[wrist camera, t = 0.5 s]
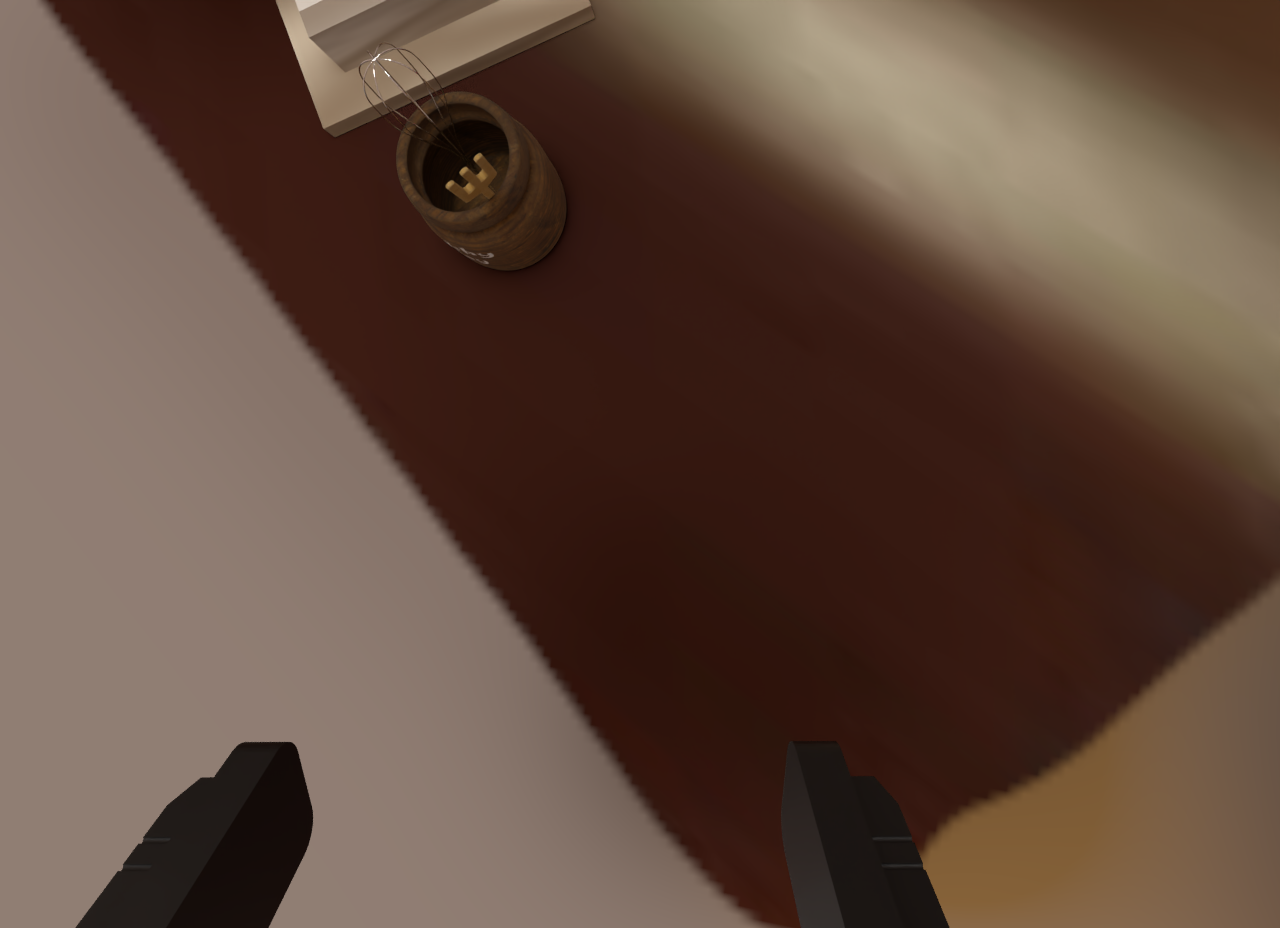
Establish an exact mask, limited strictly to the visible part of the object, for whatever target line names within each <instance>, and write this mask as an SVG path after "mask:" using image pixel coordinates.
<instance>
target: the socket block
mask: <svg viewBox="0 0 1280 928" xmlns="http://www.w3.org/2000/svg"><path fill="white" fill-rule="evenodd" d="M276 2H277V5H278V8H279V10H280V13H281V16H282V18H283V21H284V24H285V26H286V29H287V32H288V35H289V37H290V40H291V43H292V45H293V48H294V51H295V53H296V56H297V59H298V61H299V64H300V67H301V69H302V72H303V75H304V77H305V80H306V83H307V86H308V88H309V91H310V94H311V96H312V99H313V102H314V104H315V107H316V110H317V112H318V115H319V118H320V120H321V123H322V126H323V128H324V129H325V130H326V131H327V132H328V133H330V134H331V135H332V136H334V137H337V136H339V135H341V134H344V133H346V132H348V131H350V130H352V129H354V128H357V127H359V126H361V125H363V124H365V123H368V122H370V121H372V120H374V119H376V118H379V117H381V115H380V114H379V113H378V112H377V111H376V109H377V110H378V111H379V112H380V113H381V114H382V115H385V114H387V113H389V110H390V111H391V112H392V111H393V110H392V109H394V110H396V109H398V108H400V107H403V106H405V105H407V104H409V103H411V101H410V100H409V99H408V98H407V96H408V95H407V96H406V95H405V94H404V93H403V92H402V91H401V90H400V89H399V88H398V86H399V85H400V86H401V87H402V88H403V89H404V90H405V91H406V92H407V93H408V94H409V96H410V97H411V98H412V99H413V100H414V101H416V100H418V99H420V98H422V97H424V96H427V95H429V94H430V93H429V91H428V89H427V87H428V88H429V90H430V92H431V93H433V92H434V91H433V90H432V89H431V88H430V87H429V85H430V86H431V87H432V88H433V89H434V90H435V91H437V90H440V89H441V88H440V86H439V84H440V85H441V87H442V88H444V87H446V86H448V85H451V84H453V83H455V82H457V81H459V80H462V79H464V78H466V77H468V76H470V75H472V74H475V73H477V72H479V71H481V70H483V69H486V68H488V67H490V66H492V65H494V64H496V63H499V62H501V61H503V60H505V59H507V58H510V57H512V56H514V55H516V54H518V53H520V52H523V51H525V50H527V49H529V48H531V47H534V46H536V45H538V44H540V43H542V42H545V41H547V40H549V39H551V38H553V37H555V36H558V35H560V34H562V33H564V32H566V31H569V30H571V29H573V28H575V27H577V26H579V25H582V24H584V23H586V22H588V21H590V20H593V19H595V17H594V14H593V10H592V7H591V4H590V1H589V0H276ZM383 42H388V43H391V44H392V45H394V46H395V47H396V48H403V49H407V50H409V51H411V52H413V53H414V54H415V55H416V56H417V57H418V58H419V59H420V60H421V61H422V62H423V63H424V64H425V65H426V67H427V68H428V69H429V70H430V71H431V72H432V74H433V75H434V76H435V77H436V79H437V80H438V82H439V84H438V83H437V81H436V80H435V78H434V77H433V76H432V74H431V73H430V72H429V71H428V70H427V68H426V67H425V66H424V65H423V64H422V63H421V62H420V61H419V60H418V59H417V58H416V57H415V56H414V55H413V54H412V53H410V52H408V51H405V50H400V49H398V50H399V51H400V52H401V53H402V54H403V55H404V56H405V57H406V58H407V59H408V61H409V62H410V63H411V64H412V65H413V66H414V68H415V69H416V70H417V71H418V73H419V74H420V75H421V76H422V77H423V78H424V79H425V80H426V81H427V82H428V84H429V85H428V84H427V83H426V82H425V81H424V82H425V83H426V85H427V87H426V86H425V84H424V82H423V81H422V79H421V78H420V76H419V75H418V74H416V73H415V72H414V71H412V70H410V69H409V68H407V67H405V66H403V65H401V64H398V63H395V62H391V61H386V60H378V62H379V63H380V64H381V65H382V66H383V67H384V68H385V69H386V70H387V71H388V72H389V74H390V75H391V76H392V77H393V78H394V79H395V80H396V81H397V82H398V83H399V85H398V86H397V85H396V84H395V83H394V82H393V81H392V80H391V79H390V77H391V76H390V77H389V76H388V75H387V74H386V73H385V72H384V71H383V70H382V68H381V67H380V66H379V65H378V64H377V63H376V61H375V77H376V82H377V86H378V89H379V92H380V94H381V97H382V99H383V101H384V102H385V103H387V104H388V105H389V106H390V107H391V108H392V109H390V108H389V107H388V106H387V105H386V106H387V107H388V108H389V110H388V109H387V108H386V107H385V105H384V103H383V102H382V100H381V99H380V98H379V97H380V95H379V93H378V90H377V87H376V84H375V79H374V72H373V63H372V64H371V65H370V67H369V68H368V70H367V73H366V75H365V81H366V83H367V84H368V85H369V86H370V87H371V88H372V89H373V90H374V91H375V92H376V93H377V95H378V96H379V97H378V96H377V95H376V94H375V93H374V92H373V91H372V90H371V89H370V88H369V87H368V86H367V84H366V83H365V82H364V86H365V92H366V95H367V97H368V99H369V100H370V102H371V103H372V104H373V105H374V106H375V108H376V109H375V108H374V107H373V106H372V105H371V104H370V103H369V101H368V100H367V98H366V96H365V93H364V89H363V80H362V78H361V76H360V74H359V65H360V64H361V63H362V62H363V61H365V60H368V59H373V58H372V57H371V56H370V54H369V53H368V52H367V50H368V51H369V52H370V53H371V54H372V55H373V56H374V55H375V51H376V49H377V47H378V45H379V44H380V43H383ZM391 48H394V47H393V46H391V45H389V44H382V45H381V46H380V47H379V48H378V50H377V53H376V56H377V55H379V54H380V53H381V52H383V51H385V50H387V49H391ZM399 51H397V50H396V49H394V50H389V51H387V52H385V53H383V54H381V55H380V56H379V57H378V58H382V59H389V60H393V61H397V62H399V63H402V64H404V65H406V66H408V67H410V68H411V69H413V70H414V68H413V67H412V66H411V65H410V64H409V62H408V61H407V60H406V59H405V58H404V57H403V56H402V55H401V54H400V53H399ZM371 61H372V60H371ZM371 61H367V62H365V63H363V64H362V65H361V67H360V73H361V75H362V77H364V74H365V71H366V69H367V67H368V65H369V64H370V63H371ZM400 86H399V87H400ZM401 87H400V88H401ZM409 96H408V97H409ZM410 97H409V98H410ZM411 98H410V99H411Z"/></svg>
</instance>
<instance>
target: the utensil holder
mask: <svg viewBox="0 0 1280 928" xmlns="http://www.w3.org/2000/svg"><path fill="white" fill-rule="evenodd" d="M382 44H389V45H391V46H393V47H394V48H391V49H387V50H385V51H383V52H381V53H380V54H379V55H377V56H376V53H377V50H378V48H379V47H380V46H381V45H382ZM394 49H396V50H397V51H399V50H398V49H400V50H405V51H408V52H410V53H412V54H413V55H414V56H415V57H416V58H417V59H418V60H419V61H420V62H421V63H422V64H423V65H424V66H425V67H426V65H425V64H424V63H423V62H422V61H421V60H420V59H419V58H418V57H417V56H416V55H415V54H414V53H413V52H411V51H409V50H407V49H403V48H396V47H395V46H394V45H392V44H391V43H388V42H383V43H380V44H379V45H378V47H377V49H376V51H375V55H374V56H373V55H372V54H371V53H370V52H369V51H368V50H367V52H368V53H369V54H370V56H371V57H372V58H373V59H368V60H365V61H363V62H362V63H361V64H360V65H359V74H360V76H361V78H362V80H363V89H364V93H365V96H366V98H367V100H368V101H369V103H370V104H371V105H372V106H373V107H374V108H375V106H374V105H373V104H372V103H371V102H370V100H369V99H368V97H367V95H366V92H365V86H364V82H365V83H366V81H365V75H366V73H367V70H368V68H369V67H370V65H371V64H372V63H373V72H374V79H375V84H376V87H377V90H378V93H379V95H380V97H379V96H378V95H377V93H376V92H375V91H374V90H373V89H372V88H371V87H370V86H369V85H368V84H367V83H366V84H367V86H368V87H369V88H370V89H371V90H372V91H373V92H374V93H375V94H376V95H377V96H378V97H379V98H380V99H381V100H382V102H383V103H384V105H385V107H386V108H387V109H388V110H389V108H390V109H392V108H391V107H390V106H389V105H388V104H387V103H385V102H384V101H383V99H382V97H381V94H380V92H379V89H378V86H377V82H376V77H375V61H376V63H377V64H378V65H379V66H380V67H381V68H382V70H383V71H384V72H385V73H386V74H387V75H388V76H389V77H390V76H391V75H390V74H389V72H388V71H387V70H386V69H385V68H384V67H383V66H382V65H381V64H380V63H379V62H378V60H386V61H391V62H395V63H398V64H401V65H403V66H405V67H407V68H409V69H410V70H412V71H414V72H415V73H416V74H418V75H419V76H420V78H421V79H422V81H423V82H424V81H425V82H426V83H427V84H428V82H427V81H426V80H425V79H424V78H423V77H422V76H421V75H420V74H419V73H418V71H417V70H416V69H415V68H414V66H413V65H412V64H411V63H410V62H409V61H408V59H407V58H406V57H405V56H404V55H403V54H402V53H401V52H400V51H399V53H400V54H401V55H402V56H403V57H404V58H405V59H406V60H407V61H408V62H409V64H410V65H411V66H412V67H413V68H414V70H413V69H411V68H410V67H408V66H406V65H404V64H402V63H399V62H397V61H393V60H389V59H382V58H378V57H379V56H380V55H381V54H383V53H385V52H387V51H389V50H394ZM371 60H372V61H371ZM367 61H371V63H370V64H369V65H368V67H367V69H366V71H365V74H364V77H362V75H361V73H360V67H361V65H362V64H363V63H365V62H367ZM426 68H427V67H426ZM427 70H428V71H429V72H430V73H431V74H432V72H431V71H430V70H429V69H428V68H427ZM432 76H433V77H434V78H435V80H436V81H437V83H438V84H439V82H438V80H437V79H436V77H435V76H434V75H433V74H432ZM390 79H391V80H392V81H393V82H394V83H395V84H396V85H397V86H398V85H399V83H398V82H397V81H396V80H395V79H394V78H393V77H392V76H391V77H390ZM425 82H424V84H425V86H426V87H427V85H426V83H425ZM428 85H429V84H428ZM399 86H400V85H399ZM399 86H398V88H399V89H400V90H401V91H402V92H403V93H404V94H405V95H406V96H407V95H408V96H409V94H408V93H407V92H406V91H405V90H404V89H403V88H402V87H401V86H400V87H401V88H400V87H399ZM439 86H440V88H441V90H442V92H443V89H442V87H441V85H440V84H439ZM429 87H430V88H431V89H432V90H433V91H434V92H435V93H436V91H435V90H434V89H433V88H432V87H431V86H430V85H429ZM427 89H428V91H429V93H430V95H431V97H432V99H430V100H428V101H427V102H425V103H424V104H423V105H421V106H420V107H419V106H418V104H417V103H416V102H415V101H414V100H413V99H412V98H411V97H410V96H409V97H410V98H411V99H410V98H409V97H408V96H407V98H408V99H409V100H410V101H411V102H412V103H413V104H414V105H415V106H416V107H417V106H418V107H419V108H418V107H417V108H418V109H417V110H416V111H415V112H414V113H413V114H412V115H411V117H410V118H409V120H408V119H406V118H405V117H403V116H402V115H400V114H399V113H398V112H396V111H395V110H394V109H392V110H393V111H394V112H396V113H397V114H398V115H400V116H401V117H403V118H404V119H406V120H407V123H406V124H405V126H404V125H403V124H402V123H401V122H400V121H399V120H398V119H397V118H396V116H395V115H394V114H393V113H392V112H391V111H390V110H389V112H390V113H391V114H392V115H393V116H394V117H395V118H396V119H397V121H398V122H399V123H400V124H401V125H402V126H403V127H404V128H403V130H402V131H401V130H400V129H398V128H397V127H395V126H394V125H393V124H391V123H390V122H389V121H388V120H387V119H386V118H385V117H384V116H383V115H382V114H381V113H380V112H379V111H378V110H377V109H376V108H375V109H376V111H377V112H378V113H379V114H380V115H381V116H382V117H383V118H384V119H385V120H386V121H387V122H388V123H389V124H391V125H392V126H393V127H394V128H396V129H397V130H399V131H401V135H400V138H399V141H398V146H397V153H396V165H397V172H398V177H399V180H400V183H401V185H402V188H403V190H404V192H405V194H406V195H407V197H408V198H409V200H410V201H411V203H412V204H413V205H414V207H415V208H416V209H417V210H418V212H419V213H420V214H421V215H422V217H423V218H424V220H425V221H426V223H427V224H428V226H429V227H430V228H431V229H432V230H433V231H434V232H435V233H436V234H437V235H438V236H439V237H440V238H441V239H442V240H444V241H445V242H446V243H447V244H449V245H450V246H452V247H453V248H454V249H456V250H457V251H459V252H460V253H462V254H463V255H465V256H466V257H468V258H469V259H471V260H473V261H474V262H476V263H478V264H480V265H483V266H485V267H488V268H492V269H496V270H506V271H508V270H518V269H522V268H525V267H528V266H530V265H533V264H534V263H536V262H538V261H539V260H541V259H542V258H543V257H545V256H546V255H547V254H548V253H549V252H550V251H551V250H552V248H553V247H554V246H555V244H556V243H557V241H558V239H559V237H560V236H561V233H562V231H563V228H564V224H565V219H566V197H565V192H564V188H563V185H562V182H561V180H560V178H559V175H558V173H557V172H556V170H555V168H554V166H553V164H552V163H551V161H550V160H549V158H548V156H547V155H546V153H545V152H544V150H543V148H542V147H541V146H540V144H539V143H538V141H537V140H536V139H535V137H534V136H533V135H532V134H531V133H530V132H529V131H528V130H527V129H526V128H525V127H524V126H523V125H522V124H521V123H520V122H518V121H517V120H515V119H514V118H512V117H511V116H510V115H509V114H508V113H507V112H506V111H505V110H503V109H502V108H501V107H500V106H498V105H497V104H495V103H494V102H493V101H491V100H489V99H488V98H485V97H483V96H481V95H478V94H474V93H470V92H450V93H445V94H444V92H443V94H442V95H438V94H437V93H436V94H437V96H436V97H434V98H433V96H432V94H431V92H430V90H429V88H428V87H427ZM386 105H387V106H388V107H389V108H388V107H387V106H386Z"/></svg>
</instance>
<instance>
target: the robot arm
mask: <svg viewBox="0 0 1280 928" xmlns="http://www.w3.org/2000/svg"><path fill="white" fill-rule="evenodd" d="M781 820H782V836H783V844H784V850H785V855H786V860H787V864H788V869H789V874H790V878H791V883H792V888H793V892H794V897H795V901H796V906H797V911H798V915H799V920H800V925H801V928H949V925H948V923H947V921H946V918H945V916H944V913H943V911H942V908H941V906H940V904H939V901H938V899H937V896H936V894H935V892H934V889H933V887H932V884H931V882H930V879H929V877H928V875H927V872H926V870H924V869H923V863H922V860H921V858H920V855H919V853H918V850H917V848H916V846H915V843H913V842H912V838H911V837H912V836H911V834H910V831H909V829H908V826H907V824H906V821H905V819H904V817H903V814H902V812H901V809H900V807H899V805H898V803H897V802H896V801H895V800H894V799H893V797H892V796H891V795H890V794H889V793H888V792H887V791H886V790H885V789H884V787H883V786H882V785H881V784H880V783H879V782H878V781H877V780H876V778H875V777H874V776H850V773H849V771H848V768H847V765H846V762H845V759H844V756H843V754H842V751H841V748H840V746H839V744H838V743H837V742H836V741H791V742H790V743H789V745H788V751H787V760H786V770H785V780H784V790H783V800H782V813H781ZM312 826H313V810H312V805H311V802H310V797H309V793H308V790H307V786H306V782H305V778H304V774H303V770H302V766H301V762H300V758H299V754H298V751H297V748H296V746H295V745H294V744H293V743H292V742H244V743H241V744H239V745H238V746H237V747H236V748H235V749H234V750H233V751H232V752H231V754H230V755H229V757H228V758H227V760H226V761H225V762H224V764H223V765H222V767H221V768H220V769H219V771H218V772H217V774H216V775H215V777H213V778H212V777H210V778H200V779H199V780H198V781H196V782H195V783H194V784H193V785H191V786H190V787H189V788H188V789H187V790H186V791H184V792H183V793H182V794H180V795H179V796H178V797H177V798H176V799H174V800H173V801H172V802H171V803H170V804H168V805H167V806H166V808H165V809H164V810H163V812H162V813H161V814H160V816H159V817H158V819H157V820H156V821H155V822H154V824H153V825H152V827H151V828H150V829H149V830H148V832H147V833H146V834H145V836H144V837H143V838H144V839H143V842H142V844H138V845H137V846H136V848H135V849H134V850H133V852H132V853H131V854H130V856H129V857H128V858H127V860H126V861H125V862H124V864H123V869H122V870H121V871H118V872H117V873H116V874H115V876H114V877H113V878H112V880H111V881H110V882H109V884H108V885H107V886H106V888H105V889H104V891H103V892H102V893H101V895H100V896H99V897H98V898H97V900H96V901H95V903H94V904H93V905H92V906H91V908H90V909H89V910H88V912H87V913H86V915H85V916H84V917H83V918H82V920H81V921H80V923H79V924H78V925H77V926H76V928H269V925H270V924H271V921H272V919H273V917H274V915H275V913H276V911H277V909H278V907H279V905H280V903H281V901H282V899H283V897H284V895H285V893H286V891H287V889H288V887H289V885H290V883H291V881H292V879H293V877H294V875H295V873H296V871H297V869H298V867H299V865H300V863H301V861H302V859H303V856H304V854H305V852H306V850H307V847H308V844H309V841H310V837H311V833H312Z"/></svg>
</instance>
